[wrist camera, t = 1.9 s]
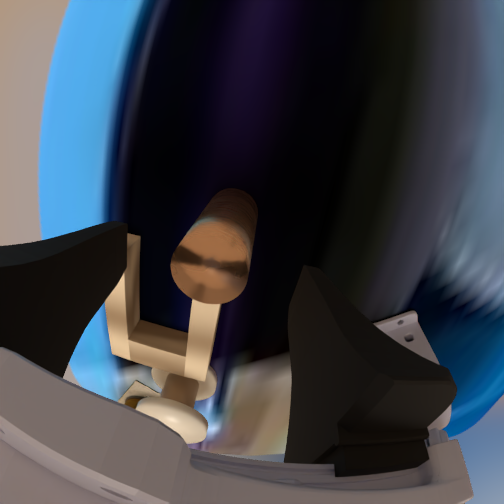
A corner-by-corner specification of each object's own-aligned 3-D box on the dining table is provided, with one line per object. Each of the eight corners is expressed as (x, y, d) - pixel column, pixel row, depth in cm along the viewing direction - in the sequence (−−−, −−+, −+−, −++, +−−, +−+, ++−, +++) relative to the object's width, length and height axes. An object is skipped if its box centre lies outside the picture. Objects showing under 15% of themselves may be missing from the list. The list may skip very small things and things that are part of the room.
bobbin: (198, 347, 22) (181, 406, 17) (227, 389, 25) (218, 443, 19) (143, 355, 24) (119, 406, 18) (175, 394, 26) (160, 442, 21)
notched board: (119, 231, 18) (100, 246, 16) (231, 257, 18) (225, 278, 16) (123, 334, 23) (112, 353, 20) (210, 359, 23) (205, 381, 21)
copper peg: (247, 181, 16) (229, 224, 10) (265, 227, 17) (259, 294, 11) (200, 198, 17) (157, 249, 10) (219, 241, 18) (191, 310, 12)
